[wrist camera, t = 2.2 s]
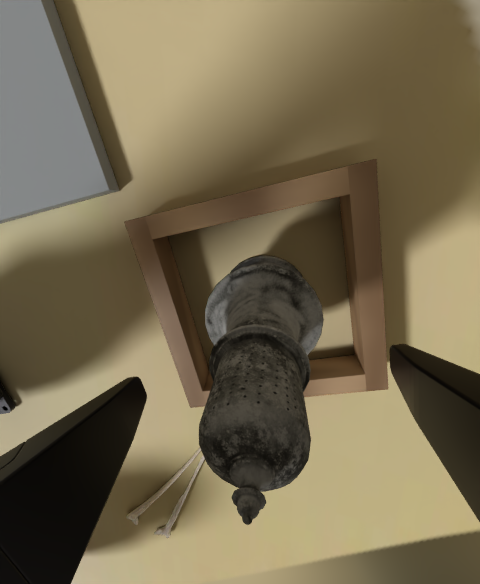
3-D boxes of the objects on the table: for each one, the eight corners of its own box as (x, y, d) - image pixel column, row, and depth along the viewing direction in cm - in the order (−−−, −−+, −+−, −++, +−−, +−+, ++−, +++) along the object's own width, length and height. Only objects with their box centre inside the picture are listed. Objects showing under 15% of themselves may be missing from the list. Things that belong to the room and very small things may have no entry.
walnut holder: (198, 387, 19) (190, 407, 17) (142, 218, 15) (124, 221, 13) (375, 368, 17) (388, 389, 15) (361, 164, 13) (376, 158, 11)
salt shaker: (241, 233, 15) (146, 335, 4) (331, 276, 15) (504, 498, 4) (204, 315, 17) (73, 540, 6) (284, 351, 17) (307, 638, 6)
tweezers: (169, 528, 26) (162, 552, 25) (129, 507, 26) (118, 530, 24) (256, 413, 21) (255, 433, 20) (207, 386, 21) (201, 403, 19)
